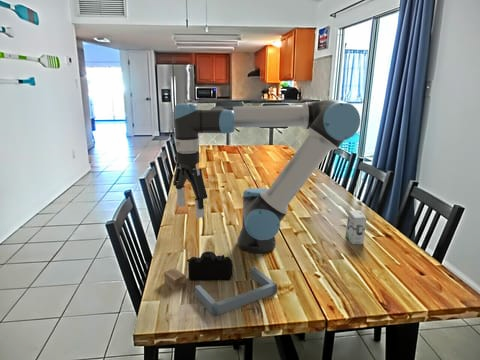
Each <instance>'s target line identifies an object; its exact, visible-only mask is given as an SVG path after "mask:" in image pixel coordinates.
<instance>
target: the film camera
mask: <svg viewBox="0 0 480 360" xmlns="http://www.w3.org/2000/svg"><path fill="white" fill-rule="evenodd" d="M186 263H188V264H187V265H188V268H187V269H188V277H187V278H188V280H189V281H192V282H193V281H194V282H217V281H218V282H222V281H223V282H224V281H225V282H227V281H231V279H232V278H233V271H234V270H233V264H234V263H233V260H232V259H231V258H230V257H229V256H225V255H224V254H222V255H216V253H214V252H213V251H204V252H203V253H201V255H200V257H196V256H192V257H190V258H188V259H186Z"/></svg>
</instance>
